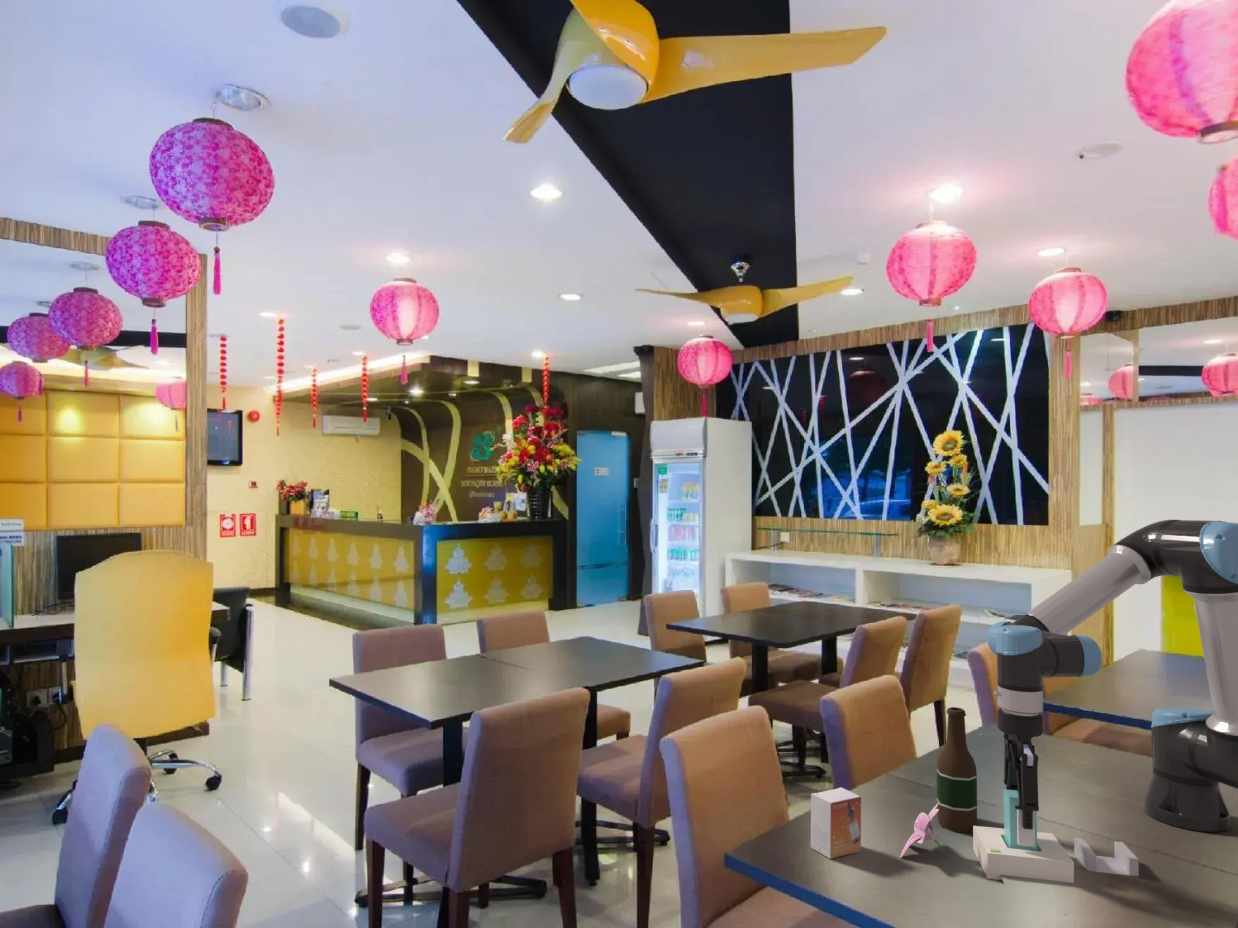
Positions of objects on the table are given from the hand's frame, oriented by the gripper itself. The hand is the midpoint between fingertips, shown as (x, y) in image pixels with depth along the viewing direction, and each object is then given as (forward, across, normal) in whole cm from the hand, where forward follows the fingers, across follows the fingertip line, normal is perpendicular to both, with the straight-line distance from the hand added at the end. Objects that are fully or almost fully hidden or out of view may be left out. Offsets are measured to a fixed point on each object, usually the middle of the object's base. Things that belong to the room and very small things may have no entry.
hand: (1020, 836), depth 145 cm
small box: (+6, +1, -33) cm, 34 cm away
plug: (+5, 0, 0) cm, 5 cm away
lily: (+6, -2, -17) cm, 18 cm away
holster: (+6, -3, +15) cm, 16 cm away
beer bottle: (+6, -17, -8) cm, 20 cm away
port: (+6, 0, 0) cm, 6 cm away
